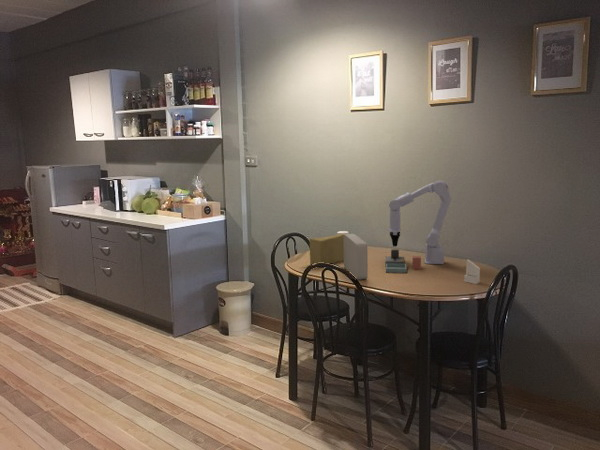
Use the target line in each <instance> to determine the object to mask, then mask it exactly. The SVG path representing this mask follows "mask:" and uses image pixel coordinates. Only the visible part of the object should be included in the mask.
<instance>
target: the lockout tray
mask: <svg viewBox="0 0 600 450" xmlns="http://www.w3.org/2000/svg"><path fill="white" fill-rule="evenodd" d="M407 271H408V269H407V264H406V263H405V264H386V267H385V273H392V274H393V273H394V274H397V273H398V274H399V273H400V274H403V273H405V274H407Z"/></svg>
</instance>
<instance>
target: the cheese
mask: <svg viewBox="0 0 600 450" xmlns="http://www.w3.org/2000/svg"><path fill="white" fill-rule="evenodd" d="M343 238H344V234H338V235H337V234H333V235H329V236H324V237H312V238H309V262H310V265H311V264H314V263H318V262H324V263H333V264H336V262H337V263H340V262H344V241H343Z"/></svg>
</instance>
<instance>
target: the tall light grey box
mask: <svg viewBox="0 0 600 450" xmlns="http://www.w3.org/2000/svg"><path fill="white" fill-rule="evenodd" d="M343 241H344V261H343V266H344V269H345V270H346V269H347V270H348V271H349V272H351V273H352V274H353V275H354V276H355V277H356V279H357V280H367V279H368V274H369V273H368V269H369V268H368V255H369V254H368V244H367V242H365V241H364V240H363V239H362V238H360V237H359V236H358V235H356V234H355V233H348V234H344V238H343ZM348 271H347V272H348ZM349 272H348V273H349ZM356 279H355V280H356ZM357 280H356V281H357Z"/></svg>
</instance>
